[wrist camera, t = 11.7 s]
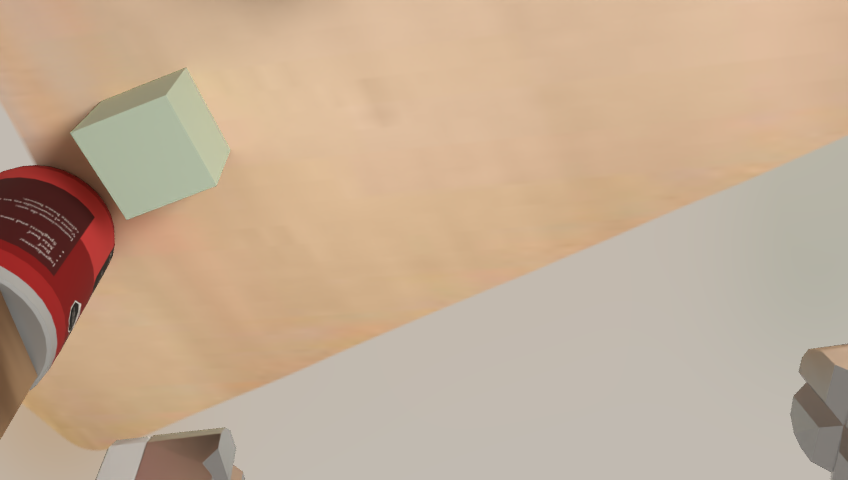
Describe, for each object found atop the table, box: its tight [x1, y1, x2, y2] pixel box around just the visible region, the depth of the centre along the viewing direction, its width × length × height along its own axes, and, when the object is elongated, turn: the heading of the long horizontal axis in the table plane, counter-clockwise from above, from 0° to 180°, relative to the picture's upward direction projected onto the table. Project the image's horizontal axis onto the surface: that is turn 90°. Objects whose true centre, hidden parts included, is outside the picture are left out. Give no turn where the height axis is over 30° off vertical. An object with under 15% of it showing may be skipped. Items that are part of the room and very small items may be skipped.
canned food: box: [0, 165, 115, 390], centre depth 36 cm, size 8×8×11 cm
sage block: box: [70, 68, 230, 220], centre depth 37 cm, size 5×5×5 cm
